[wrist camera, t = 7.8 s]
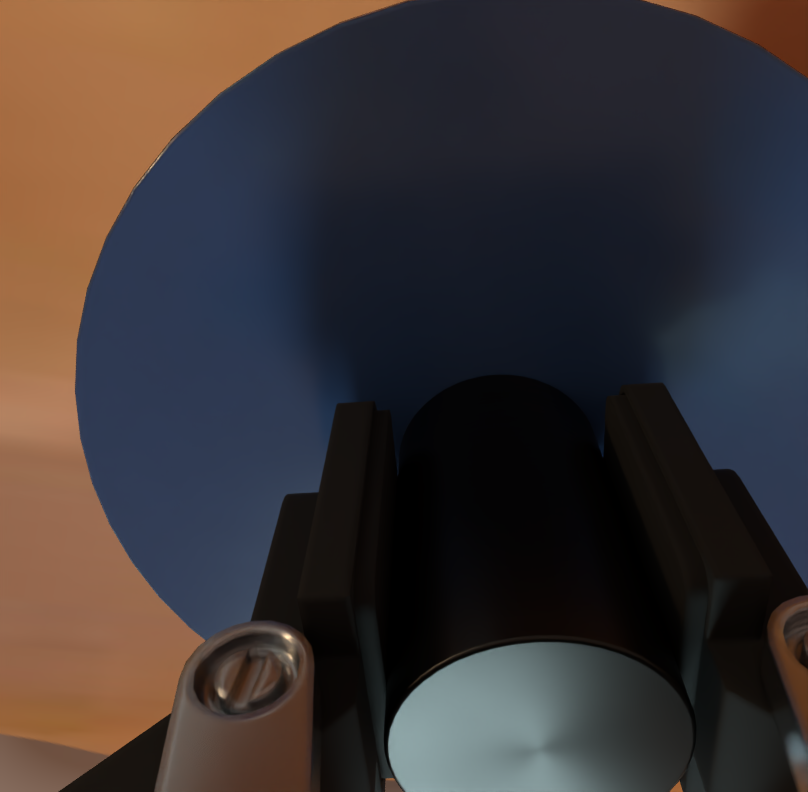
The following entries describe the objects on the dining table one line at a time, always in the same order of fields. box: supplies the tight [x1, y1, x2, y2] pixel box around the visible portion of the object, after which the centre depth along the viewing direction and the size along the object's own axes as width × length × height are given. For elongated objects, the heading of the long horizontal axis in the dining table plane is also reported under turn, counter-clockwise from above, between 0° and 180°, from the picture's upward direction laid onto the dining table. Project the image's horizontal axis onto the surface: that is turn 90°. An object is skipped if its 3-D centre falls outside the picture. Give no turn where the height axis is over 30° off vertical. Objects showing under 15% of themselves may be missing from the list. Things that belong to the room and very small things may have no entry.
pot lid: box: [75, 0, 808, 792], centre depth 10 cm, size 13×13×6 cm
